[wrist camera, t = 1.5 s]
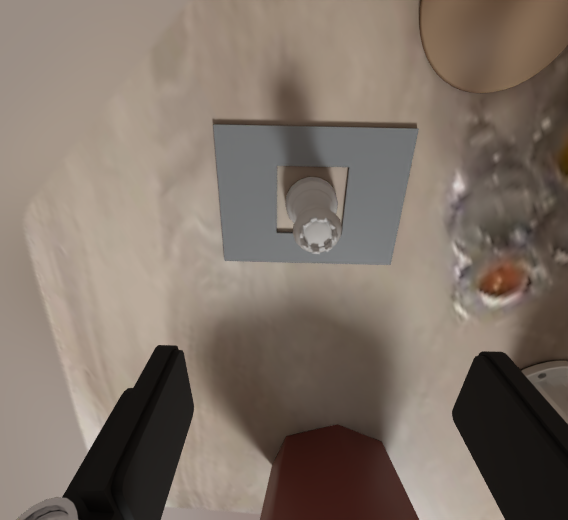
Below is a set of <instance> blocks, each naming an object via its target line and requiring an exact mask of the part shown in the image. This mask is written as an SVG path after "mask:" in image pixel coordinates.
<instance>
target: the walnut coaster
mask: <svg viewBox="0 0 568 520" xmlns="http://www.w3.org/2000/svg"><path fill="white" fill-rule="evenodd" d="M419 25H420V36H421V40H422V45H423V49H424V51H425V54H426V57H427V59H428V61H429V63H430V65H431V66H432V68H433V69H434V71H435V72H436V73H437V74H438V75H439V76H440V77H441V78H442V79H443V80H444V81H445V82H447V83H448V84H450V85H451V86H453V87H455V88H457V89H460V90H463V91H467V92H473V93H488V92H496V91H501V90H505V89H508V88H511V87H514V86H516V85H518V84H520V83H522V82H524V81H526V80H528V79H529V78H531V77H533V76H534V75H536V74H537V73H539V72H540V71H541V70H543V69H544V68H545V67H546V66H548V65H549V64H550V63H551V62H552V61H553V60H554V59H555V58H556V57H557V56H558V55H559V54H560V53H561V52H562V51H563V50H564V49H565V48H566V46H567V45H568V0H421V3H420V17H419Z"/></svg>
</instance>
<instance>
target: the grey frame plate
mask: <svg viewBox="0 0 568 520" xmlns="http://www.w3.org/2000/svg"><path fill="white" fill-rule="evenodd" d="M213 128H214V140H215V152H216V164H217V176H218V188H219V200H220V212H221V224H222V236H223V248H224V260H225V261H252V262H292V263H332V264H372V265H391V260H392V255H393V251H394V246H395V241H396V236H397V231H398V226H399V221H400V217H401V212H402V207H403V202H404V197H405V192H406V188H407V183H408V178H409V173H410V168H411V163H412V158H413V154H414V149H415V144H416V139H417V134H418V129H417V128H367V127H318V126H269V125H220V124H214V125H213ZM277 166H316V167H349V170H348V179H347V188H346V197H345V205H344V214H343V223H342V232H341V237H340V239H339V240H338V242H337V243H336V245H335V246H333V248H332V249H331V250H329V251H328V252H327V251H324V252H321V253H320V254H312V252H308V251H306V250H304V249H302V248H301V247H300V246H299V245H298V244H297V243H296V242H295V239H294V236H293V232H277Z"/></svg>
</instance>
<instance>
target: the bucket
mask: <svg viewBox="0 0 568 520" xmlns="http://www.w3.org/2000/svg"><path fill="white" fill-rule="evenodd" d="M260 520H419V518H418V516H417V514H416V512H415V510H414V508H413V506H412V504H411V502H410V500H409V497H408V495H407V493H406V491H405V489H404V487H403V485H402V483H401V481H400V479H399V477H398V475H397V472H396V470H395V468H394V466H393V464H392V462H391V460H390V458H389V456H388V454H387V452H386V450H385V447H384V445H383V443H382V442H381V441H379V440H376V439H374V438H371V437H368V436H366V435H363V434H361V433H358V432H356V431H353V430H351V429H348V428H346V427H343V426H340V425H338V424H337V425H333V426H328V427H324V428H320V429H315V430H311V431H307V432H302V433H298V434H294V435H289V436H286V438H285V440H284V442H283V444H282V446H281V448H280V450H279V452H278V454H277V456H276V459H275V461H274V463H273V465H272V469H271V473H270V477H269V482H268V486H267V491H266V495H265V500H264V504H263V508H262V513H261V518H260Z"/></svg>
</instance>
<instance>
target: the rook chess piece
mask: <svg viewBox="0 0 568 520" xmlns="http://www.w3.org/2000/svg"><path fill="white" fill-rule="evenodd" d="M337 205H338V202H337V197H336V193H335V190H334V189H333V187H332V186H331V185H330V184H329V182H327V181H325V180H323V179H321V178H318V177H307V178H304V179H301V180H299V181H297V182H296V183H295V184H294V185H293V186H291V188H290V190H289V192H288V194H287V196H286V210H287V213H288V216H289V218H290V219H291V220H292V222H293V223H294V226H293V236H294V239H295V242H296V243H297V244H298V245H299V246H300V247H301V248H302V249H304V250H306V251H308V252H312V254H320V253H321V252H324V251H327V252H328V251H329V250H331V249H332V248H333V246H335V245H336V243H337V242H338V240H339V239H340V237H341V232H342V226H341V222H340V219H339V218H338V217H337V215H336V211H337Z"/></svg>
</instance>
